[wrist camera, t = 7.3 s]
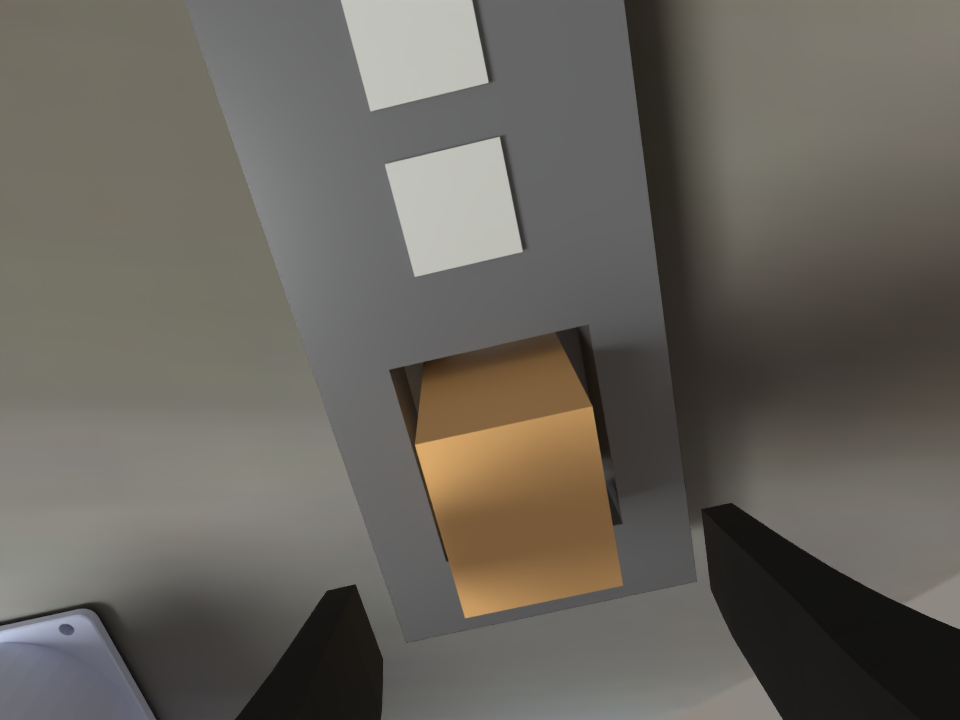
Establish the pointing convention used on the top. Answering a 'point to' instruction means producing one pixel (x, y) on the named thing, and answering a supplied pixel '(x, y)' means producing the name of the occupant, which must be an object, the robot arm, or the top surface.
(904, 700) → the robot arm
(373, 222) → the power strip
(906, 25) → the top surface
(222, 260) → the top surface
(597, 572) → the plug block
